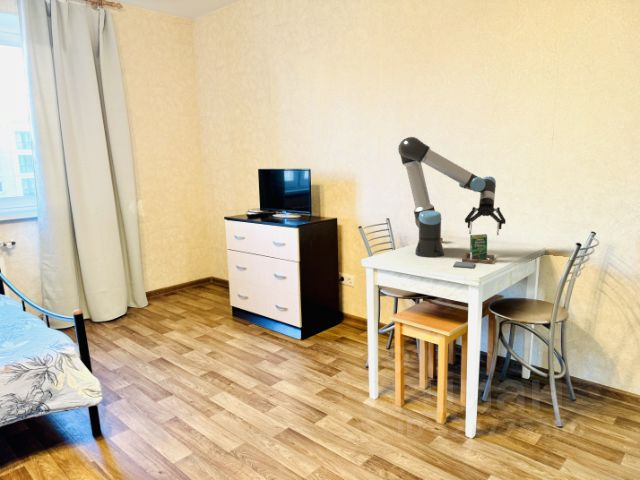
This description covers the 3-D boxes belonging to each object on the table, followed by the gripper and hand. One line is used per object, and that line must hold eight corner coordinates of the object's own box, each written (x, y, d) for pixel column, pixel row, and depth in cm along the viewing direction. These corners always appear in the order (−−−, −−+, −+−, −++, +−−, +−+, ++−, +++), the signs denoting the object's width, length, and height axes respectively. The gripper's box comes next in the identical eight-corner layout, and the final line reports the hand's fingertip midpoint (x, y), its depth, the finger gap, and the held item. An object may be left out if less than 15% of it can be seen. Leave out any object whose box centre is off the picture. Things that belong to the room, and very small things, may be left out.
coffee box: (471, 260, 225) (472, 235, 222) (469, 259, 228) (470, 234, 225) (487, 260, 225) (488, 234, 222) (485, 259, 228) (485, 234, 225)
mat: (453, 267, 213) (453, 265, 213) (455, 263, 221) (456, 261, 221) (472, 268, 209) (472, 266, 209) (474, 264, 217) (474, 262, 217)
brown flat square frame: (461, 262, 223) (462, 259, 222) (465, 255, 236) (465, 253, 236) (491, 264, 217) (491, 261, 216) (493, 257, 230) (494, 254, 230)
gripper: (511, 205, 239) (509, 238, 228) (463, 205, 249) (459, 236, 239) (511, 197, 233) (509, 229, 223) (462, 196, 243) (458, 228, 233)
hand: (483, 233), depth 231 cm, fingers open, 13 cm apart
